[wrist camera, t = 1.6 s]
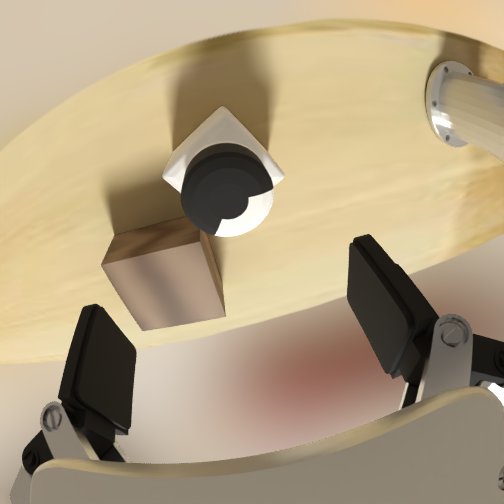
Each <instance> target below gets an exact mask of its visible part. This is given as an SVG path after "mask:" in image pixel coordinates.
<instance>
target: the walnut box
mask: <svg viewBox="0 0 504 504" xmlns="http://www.w3.org/2000/svg"><path fill="white" fill-rule="evenodd" d="M101 266H102V268H103V270H104V271H105V273H106V275H107V277H108V278H109V280H110V282H111V283H112V285H113V287H114V288H115V290H116V292H117V293H118V295H119V296H120V298H121V300H122V301H123V303H124V304H125V306H126V307H127V309H128V310H129V312H130V313H131V315H132V316H133V318H134V319H135V321H136V322H137V324H138V325H139V327H140V328H141V330H142V331H146V330H153V329H159V328H166V327H172V326H178V325H183V324H189V323H195V322H200V321H206V320H211V319H216V318H221V317H226V314H225V305H224V295H223V284H222V281H221V278H220V275H219V272H218V269H217V265H216V262H215V259H214V256H213V252H212V249H211V246H210V243H209V239H208V236H207V233H206V232H203V231H202V230H200V229H198V228H197V227H196V226H195V225H193V224H192V223H191V221H190V220H189V219H188V218H187V217H183V218H179V219H175V220H171V221H167V222H163V223H159V224H155V225H151V226H147V227H144V228H140V229H136V230H133V231H129V232H125V233H122V234H118V235H115V236H114V238H113V240H112V242H111V244H110V246H109V248H108V251H107V253H106V255H105V257H104V259H103V262H102V264H101Z"/></svg>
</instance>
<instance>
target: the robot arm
mask: <svg viewBox="0 0 504 504" xmlns="http://www.w3.org/2000/svg"><path fill="white" fill-rule="evenodd" d="M426 109H427V115H428V119H429V122H430V125H431V127H432V129H433V131H434V133H435V134H436V136H437V137H438V138H439V139H440V140H441V141H442V142H444V143H445V144H448V145H450V146H452V147H463V146H465V145H467V144H468V143H469V144H471V145H473V146H475V147H477V148H479V149H481V150H483V151H485V152H487V153H489V154H491V155H492V156H494V157H496V158H498V159H500V160H501V161H503V162H504V84H503V83H500V82H497V81H493V80H490V79H486V78H482V77H478V76H474V74H473V73H472V72H471V70H470V69H469V68H468V67H466V66H465V65H464V64H462V63H459V62H456V61H444V62H442V63H440V64H439V65H437V66H436V67H435V68H434V70H433V71H432V73H431V75H430V77H429V80H428V84H427V89H426ZM347 299H348V302H349V304H350V306H351V308H352V310H353V312H354V314H355V315H356V317H357V319H358V321H359V323H360V325H361V327H362V329H363V330H364V332H365V334H366V336H367V338H368V340H369V342H370V344H371V346H372V348H373V350H374V351H375V353H376V356H377V357H378V360H379V362H380V363H381V366H382V368H383V370H384V371H385V373H387V374H388V373H390V375H391V377H392V379H394V378H396V377H398V376H400V375H402V376H403V378H404V380H405V382H406V385H405V390H404V393H403V396H402V400H401V403H400V406H399V409H398V411H396V412H394V413H392V414H390V415H388V416H385V417H383V418H380V419H378V420H375V421H373V422H371V423H368V424H365V425H363V426H360V427H357V428H355V429H352V430H349V431H347V432H344V433H341V434H338V435H335V436H332V437H329V438H325V439H322V440H319V441H316V442H312V443H308V444H305V445H301V446H298V447H293V448H289V449H285V450H280V451H276V452H271V453H266V454H261V455H256V456H249V457H243V458H236V459H229V460H221V461H211V462H198V463H179V464H140V463H132V462H131V460H130V459H129V458H128V456H127V455H126V454H125V452H124V451H123V450H122V448H121V447H120V445H119V444H118V443H117V441H116V440H115V434H117V435H128V429H129V428H130V427H131V415H132V397H133V385H134V374H135V364H136V349H135V347H134V345H133V344H132V343H131V342H130V341H129V340H128V338H127V337H126V336H125V335H124V334H123V332H122V331H121V330H120V329H119V327H118V326H117V325H116V324H115V322H114V321H113V320H112V318H111V317H110V316H109V315H108V313H107V312H106V311H105V309H104V308H103V307H100V306H99V305H98V304H92V305H88V306H84V307H83V309H82V311H81V314H80V317H79V320H78V323H77V326H76V329H75V332H74V336H73V339H72V342H71V346H70V349H69V353H68V357H67V360H66V364H65V369H64V373H63V377H62V381H61V385H60V390H59V395H58V398H59V399H60V400H61V401H62V403H61V404H60V403H58V402H55V401H54V402H50V403H49V404H47V405H46V406H45V407H44V409H43V411H42V413H41V417H40V424H41V428H42V430H41V431H40V432H39V433H38V434H37V435H36V436H35V437H34V438H33V439H32V440H31V442H30V443H29V444H28V445H27V446H26V447H25V449H24V451H23V454H22V461H23V466H24V467H23V466H21V469H20V471H19V473H18V475H17V478H16V480H15V482H14V484H13V487H12V489H11V493H10V499H11V502H12V504H504V342H501V341H498V340H494V339H491V338H487V337H484V336H480V335H476V334H473V333H472V329H471V327H470V325H469V323H468V322H467V321H466V320H465V319H464V318H463V317H461V316H459V315H456V314H447V315H443V316H442V317H440V318H439V316H438V315H437V314H436V312H435V311H434V309H433V308H432V307H431V305H430V304H429V303H428V301H427V300H426V298H425V297H424V296H423V294H422V293H421V292H420V291H419V289H418V288H417V287H416V285H415V284H414V283H413V282H412V280H411V279H410V278H409V276H408V275H407V274H406V273H405V272H404V270H403V269H402V268H401V267H400V266H399V265H398V264H396V263H394V262H393V260H392V259H391V258H390V257H389V256H388V254H387V253H386V252H385V251H384V250H383V248H382V247H381V246H380V245H379V244H378V243H377V242H376V240H375V239H374V238H373V237H372V236H371V235H370V234H367V235H363V236H359V237H356V238H354V240H353V243H350V246H349V269H348V287H347Z"/></svg>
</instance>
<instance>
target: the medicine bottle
mask: <svg viewBox="0 0 504 504" xmlns="http://www.w3.org/2000/svg"><path fill="white" fill-rule="evenodd" d="M162 176H163V178H164V179H165V180H166V181H167V182H168V183H169V184H170V185H172V186H173V187H174V188H175V189H176V190H177V191H179V192H180V193H181V203H182V207H183V210H184V212H185V214H186V216H187V218H188V219H189V220H190V221H191V223H192V224H193V225H195V226H196V227H197V228H198V229H200V230H202V231H203V232H206V233H208V234H211V235H215V236H223V237H228V236H236V235H240V234H243V233H246V232H248V231H250V230H252V229H253V228H255V227H256V226H257V225H259V224H260V223H261V222H262V221H263V220H264V218H265V217H266V216H267V214H268V213H269V211H270V209H271V206H272V203H273V199H274V187H273V186H274V185H276V184H277V183H278V182H279V181H280V180H282V179H283V178H284V172H283V171H282V170H281V168H280V167H279V166H278V164H277V163H276V162H275V160H274V159H273V158H272V157H271V155H270V154H269V153H268V152H267V150H266V149H265V148H264V147H263V146H262V145H261V144H260V143H259V142H258V141H257V140H256V138H255V137H254V136H253V135H252V134H251V133H250V132H249V131H248V130H247V129H246V128H245V127H244V126H243V125H242V124H241V123H240V122H239V121H238V119H237V118H236V117H235V116H234V115H233V114H232V113H231V112H230V111H229V110H228V109H227V108H226V107H224V106H221V107H219V108H218V109H217V110H216V111H215V112H214V113H213V114H212V115H211V116H209V117H208V118H207V119H206V120H205V121H204V122H203V123H202V124H201V125H200V126H199V127H198V128H197V129H195V130H194V131H193V132H192V133H191V134H190V135H189V136H188V137H187V138H186V139H185V140H184V141H183V142H182V143H181V144H180V145H179V146H178V147H177V148H176V149H175V150H174V151H173V153H172V155H171V157H170V159H169V161H168V163H167V165H166V167H165V170H164V172H163V174H162Z"/></svg>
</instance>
